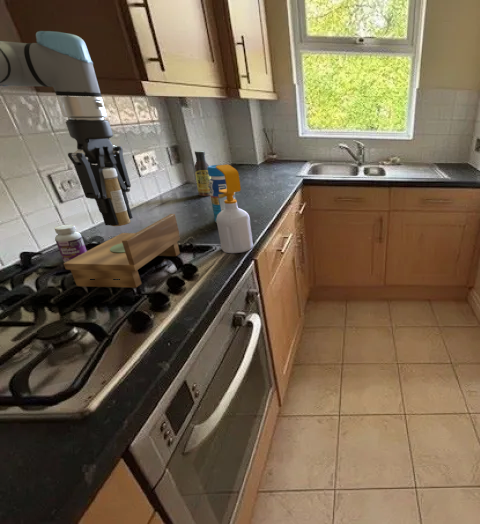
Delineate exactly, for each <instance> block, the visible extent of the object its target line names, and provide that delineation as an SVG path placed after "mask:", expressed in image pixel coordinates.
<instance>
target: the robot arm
mask: <svg viewBox="0 0 480 524" xmlns="http://www.w3.org/2000/svg"><path fill="white" fill-rule="evenodd" d="M35 39H36V40H35V41H36V42H32V43H31V42H28V43H26V42H17V41H16V42H15V41H4V40H0V87H9V86H12V87H44V88H53V91H54V93H55V96H56V99H57V102H58V105H59V108H60V111H61V114H62V117H64V118H67V119H66V121H65V125H66V128H67V131H68V134H69V136H70V137H71V139H73V140H75V141H76V150H75V151H73V152H68V153H67V157H68V158H69V160H70V161H71V163H72V164H73V166H74V170H75V172H76V175H77V177H78V180H79V184H80V185H81V188H82V191H83V194H84V197H85V198H86V199H90V200H95V203H96V206H97V208H98V211H99V213H100V214H101V217H102V219H103V222H104V225H105V226H110V225H115V226H114V227H118V226H117V225H119V223H118V220H117V217H116V214H115V211H114V207H113V204H112V201H111V198H107V194H106V187H105V180H104V175H103V172H102V171H103V168H104V167H109V168H115V169H116V172H117V178H118V182H119V185H120V188H121V191H122V194H123V197H124V201H125V204H126V208H127V213H128V216H129V219H130V220H131V219H133V215H132V211H131V206H130V203H129V198H128V195H127V193H130V191H131V187H132V184H131V180H130V177H129V174H128V169H127V166H126V163H125V159H124V150H123V149H124V148H123V147H122V146H118V145H113V143H112V140H111V138H113V137H114V133H113V130H112V127H111V122H110V121H109V120H108V119H106V118H107V117H108V114H107V110H106V107H105V104H104V101H103V98H102V93H101V90H100V86H99V83H98V79H97V75H96V72H95V68H94V67H95V66H94V62H93V60H92V59H91V55H90V52H89V50H88V47H87V44H86V42H85V40H84V39H82V37H80V36H78V35H76V34H73V33H66V32H61V31H53V30H52V31H51V30H39V31H37V32H36V33H35ZM99 192H100V193H99Z"/></svg>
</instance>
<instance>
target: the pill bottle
mask: <svg viewBox="0 0 480 524" xmlns="http://www.w3.org/2000/svg"><path fill="white" fill-rule="evenodd" d="M54 231H55V233H56V235H55V236H54V241H55V244H56V246H57V248H58V251H59V253H60V256H61V258H62V260H63V263H65V262H67V261H69V260H71V259H73V258H75V257H77V256H79V255H81V254H83V253H85V252H87V251H88V250H87V247H86V245H85V241H84V239H83V237H82V234H81V233H80V232H78V231H77V228H76V226H75V225H74V224H61V225H57V226H55V227H54Z"/></svg>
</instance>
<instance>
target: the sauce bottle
mask: <svg viewBox="0 0 480 524" xmlns="http://www.w3.org/2000/svg"><path fill="white" fill-rule="evenodd" d="M194 155H195V164H194V174H195V182H196V187H197V192H198V196H200V197H210V194H209V192H210V189H209V187H208V185H209V181H210V179H211V177H210V176H209V174H208V169H207V168H208V166H210V165H209V164H208V162H207V161H206V153H205V150H195V151H194Z"/></svg>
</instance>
